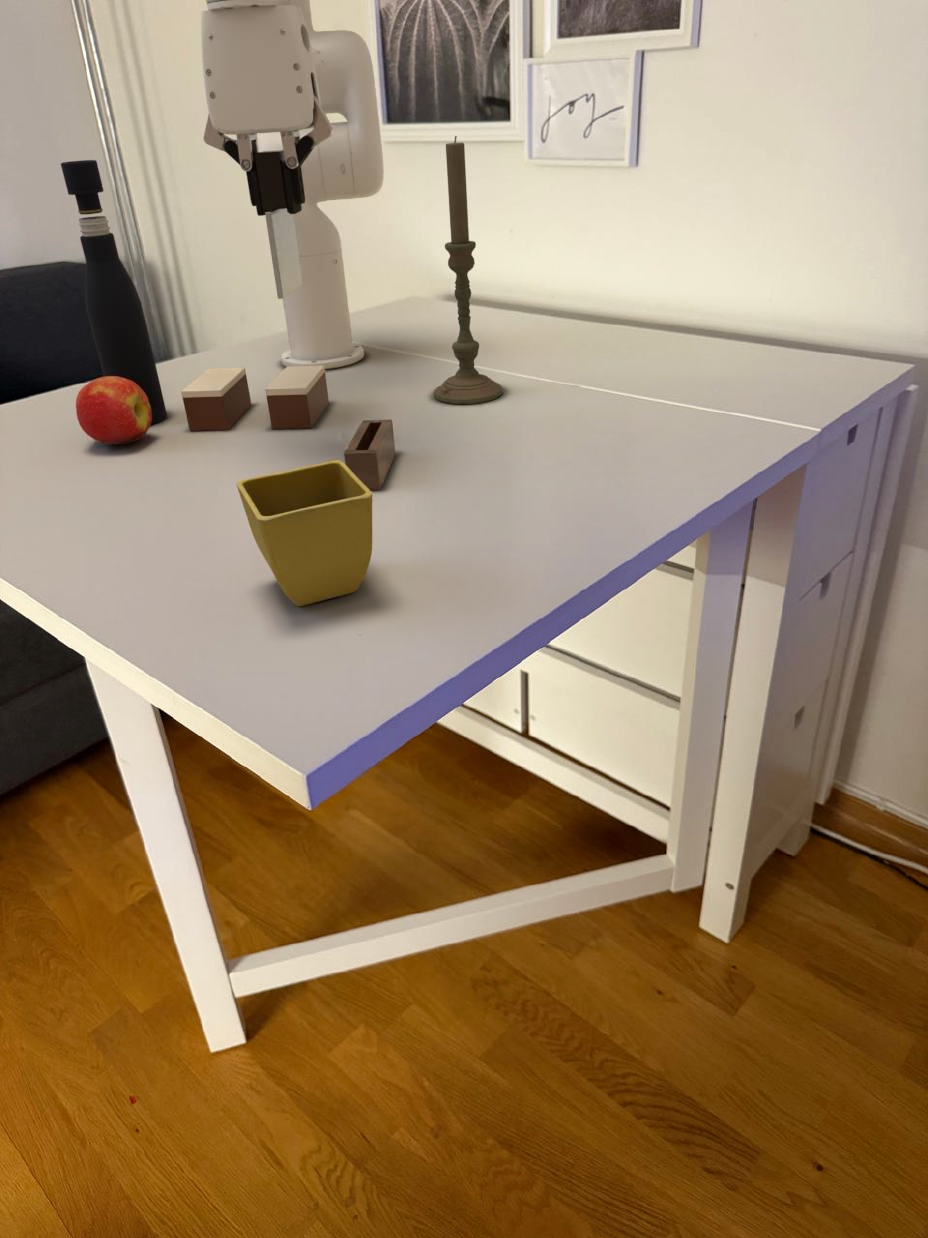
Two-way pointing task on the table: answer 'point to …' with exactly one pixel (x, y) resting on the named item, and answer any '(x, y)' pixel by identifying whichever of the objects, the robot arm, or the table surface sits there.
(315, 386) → the cake slice
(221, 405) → the cake
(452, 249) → the candlestick holder
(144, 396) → the apple
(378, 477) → the knife block
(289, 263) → the knife
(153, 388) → the wine bottle
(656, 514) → the table surface
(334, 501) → the flower pot
